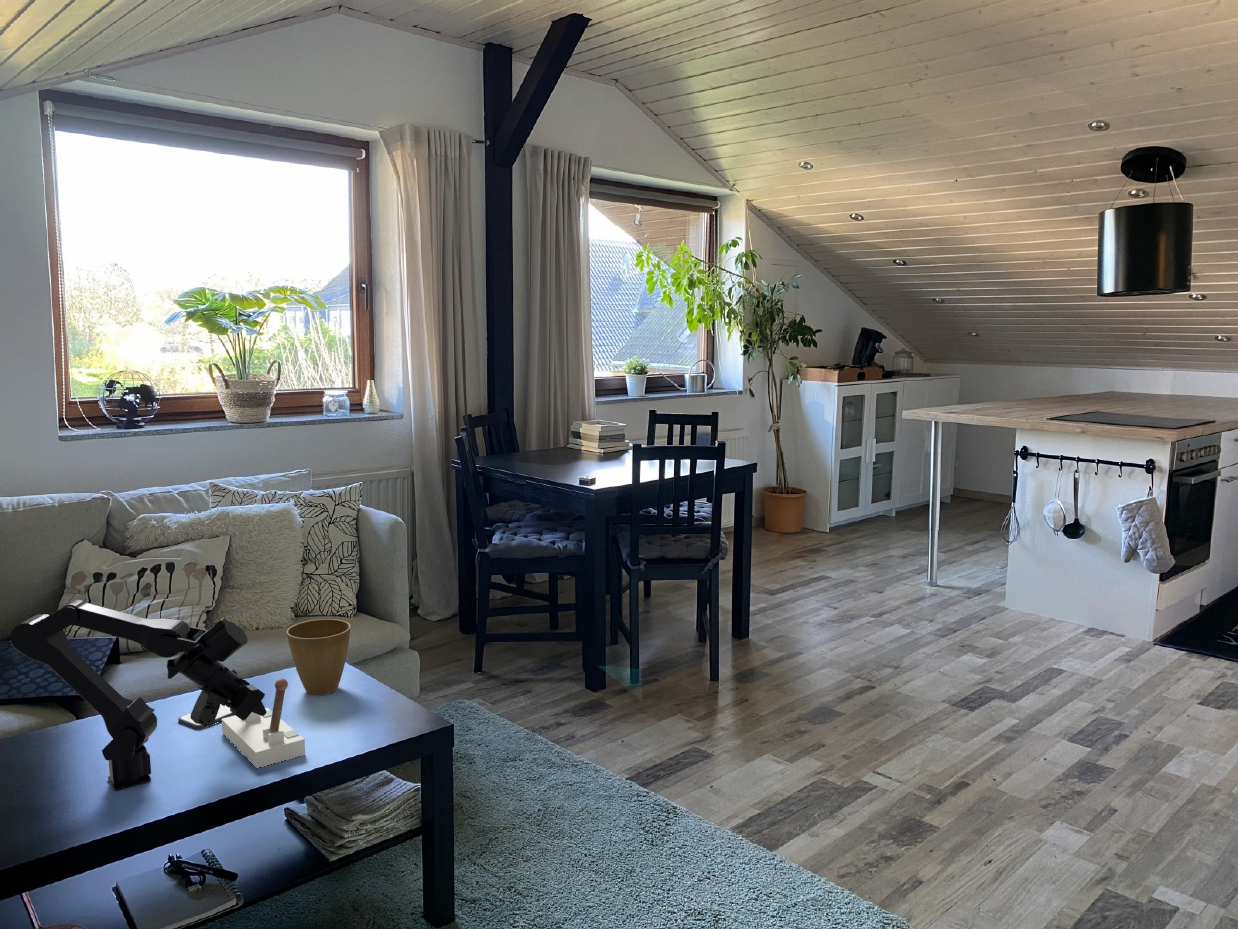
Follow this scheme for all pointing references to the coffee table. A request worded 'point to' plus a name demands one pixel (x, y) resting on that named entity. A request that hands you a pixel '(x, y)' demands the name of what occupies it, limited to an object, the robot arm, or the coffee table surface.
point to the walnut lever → (278, 704)
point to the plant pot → (319, 653)
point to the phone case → (187, 721)
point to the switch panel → (263, 739)
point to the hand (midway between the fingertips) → (264, 714)
